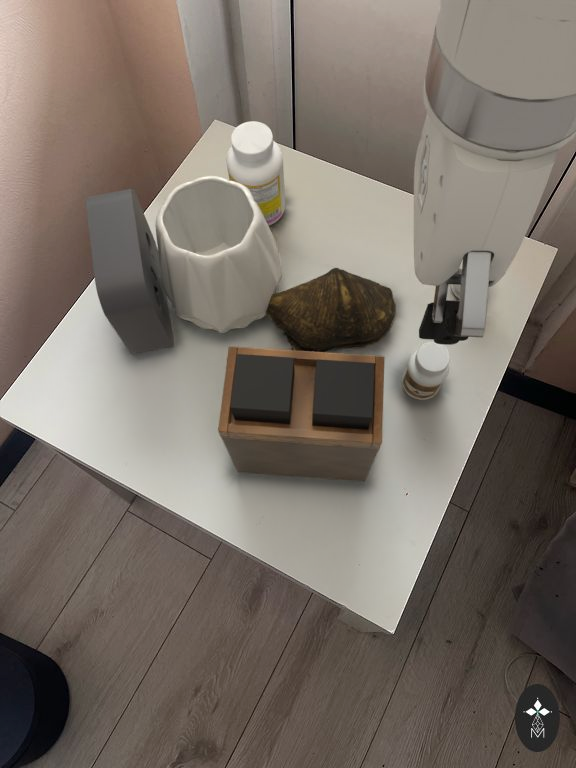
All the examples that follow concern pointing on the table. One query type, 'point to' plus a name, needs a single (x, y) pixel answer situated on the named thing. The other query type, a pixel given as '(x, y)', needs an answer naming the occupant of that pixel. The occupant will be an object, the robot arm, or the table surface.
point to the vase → (216, 254)
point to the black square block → (343, 394)
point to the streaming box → (128, 271)
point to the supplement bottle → (258, 167)
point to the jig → (302, 427)
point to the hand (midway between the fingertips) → (441, 273)
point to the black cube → (263, 388)
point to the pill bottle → (426, 371)
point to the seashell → (333, 312)
